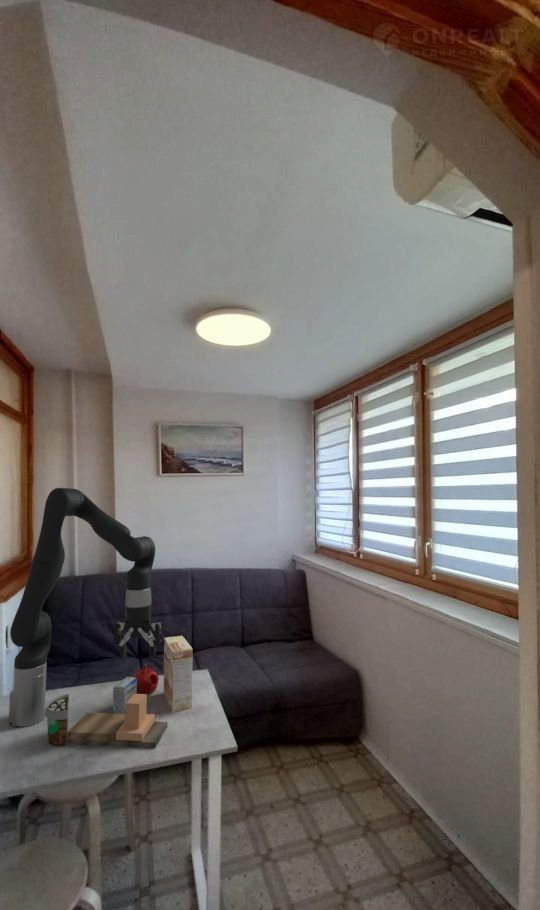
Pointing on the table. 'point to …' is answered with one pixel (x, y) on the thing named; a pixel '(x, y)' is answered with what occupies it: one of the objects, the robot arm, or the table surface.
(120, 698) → the medicine box
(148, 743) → the board
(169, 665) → the coffeecake box
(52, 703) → the food container
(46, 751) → the table surface
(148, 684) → the pomegranate
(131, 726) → the stub
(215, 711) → the table surface
